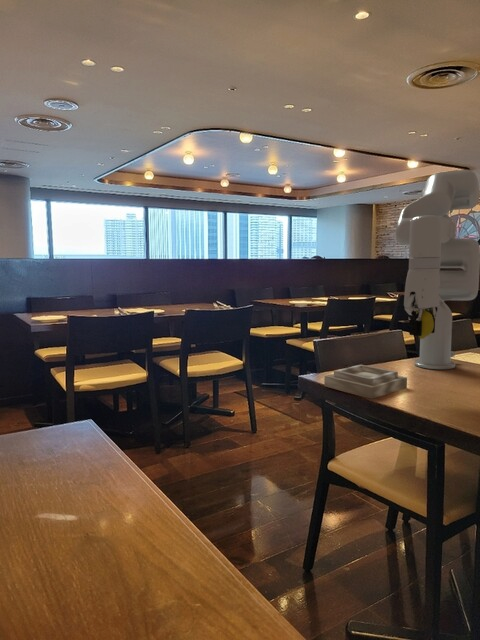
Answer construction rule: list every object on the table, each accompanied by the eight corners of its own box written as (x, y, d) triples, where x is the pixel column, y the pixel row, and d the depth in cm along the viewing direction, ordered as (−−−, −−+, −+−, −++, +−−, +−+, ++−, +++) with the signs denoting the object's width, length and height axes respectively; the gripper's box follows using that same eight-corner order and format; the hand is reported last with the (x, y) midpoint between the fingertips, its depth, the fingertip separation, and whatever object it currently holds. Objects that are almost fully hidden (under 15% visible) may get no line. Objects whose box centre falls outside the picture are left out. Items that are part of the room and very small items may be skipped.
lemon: (429, 337, 124) (430, 307, 122) (436, 341, 118) (437, 310, 117) (408, 337, 124) (409, 307, 123) (413, 341, 119) (414, 310, 118)
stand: (359, 377, 140) (359, 362, 140) (406, 387, 128) (407, 371, 127) (324, 386, 130) (324, 370, 130) (371, 398, 118) (372, 381, 117)
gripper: (428, 263, 127) (426, 328, 129) (392, 265, 116) (390, 336, 119) (455, 263, 121) (452, 331, 123) (419, 266, 110) (417, 340, 113)
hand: (422, 333), depth 121 cm, fingers closed on lemon, 5 cm apart
